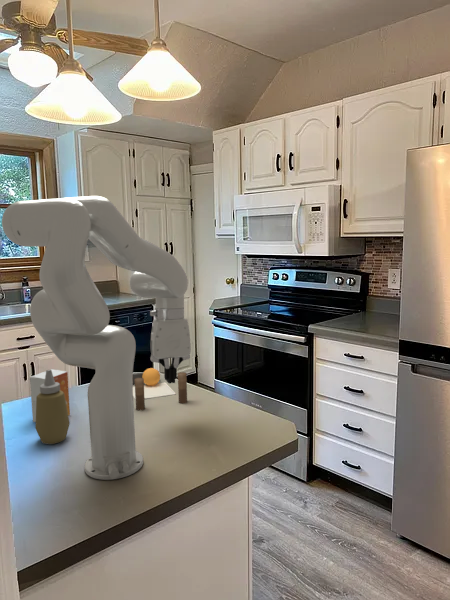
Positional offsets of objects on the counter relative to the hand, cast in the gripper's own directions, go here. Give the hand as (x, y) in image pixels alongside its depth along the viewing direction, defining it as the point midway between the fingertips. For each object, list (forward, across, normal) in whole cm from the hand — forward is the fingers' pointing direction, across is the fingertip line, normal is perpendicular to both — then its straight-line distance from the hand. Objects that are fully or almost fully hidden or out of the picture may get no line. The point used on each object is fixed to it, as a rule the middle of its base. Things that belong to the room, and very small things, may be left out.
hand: (170, 381), depth 124 cm
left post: (+11, -5, +14) cm, 19 cm away
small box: (+12, -30, +17) cm, 36 cm away
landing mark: (+10, +1, +28) cm, 30 cm away
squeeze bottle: (+13, -30, +2) cm, 32 cm away
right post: (+11, +8, +14) cm, 19 cm away
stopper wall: (+10, +1, +38) cm, 39 cm away
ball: (+7, +2, +34) cm, 35 cm away
